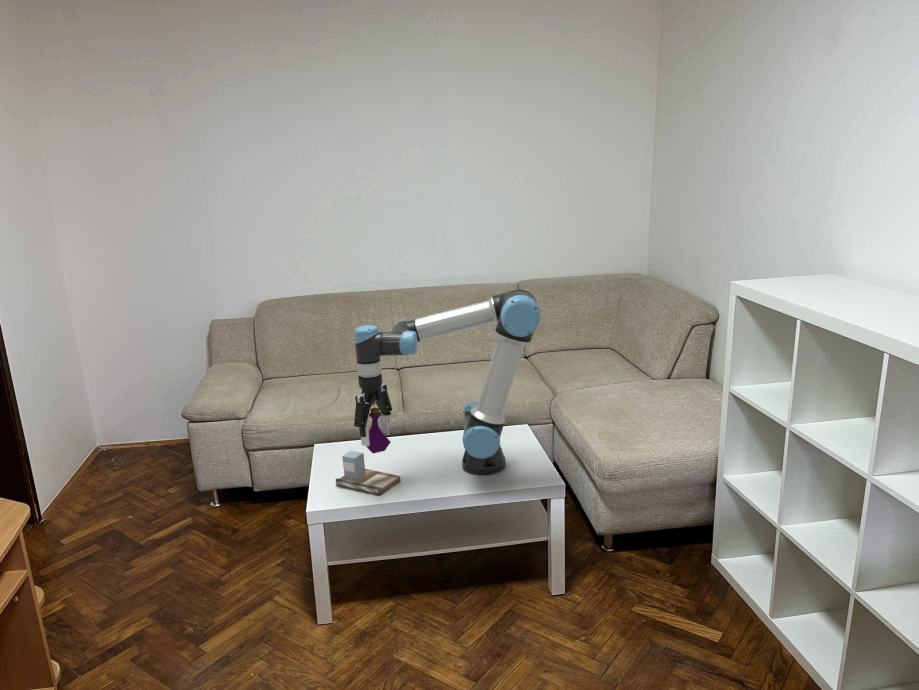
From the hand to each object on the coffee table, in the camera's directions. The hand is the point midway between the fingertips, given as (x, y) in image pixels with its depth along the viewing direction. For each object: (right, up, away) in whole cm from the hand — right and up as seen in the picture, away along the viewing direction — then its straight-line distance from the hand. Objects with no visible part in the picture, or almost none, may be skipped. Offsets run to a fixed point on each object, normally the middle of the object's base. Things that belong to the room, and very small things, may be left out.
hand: (375, 439), depth 235 cm
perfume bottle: (0, -4, +1) cm, 4 cm away
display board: (-3, -16, +7) cm, 17 cm away
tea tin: (-8, -14, +8) cm, 18 cm away
